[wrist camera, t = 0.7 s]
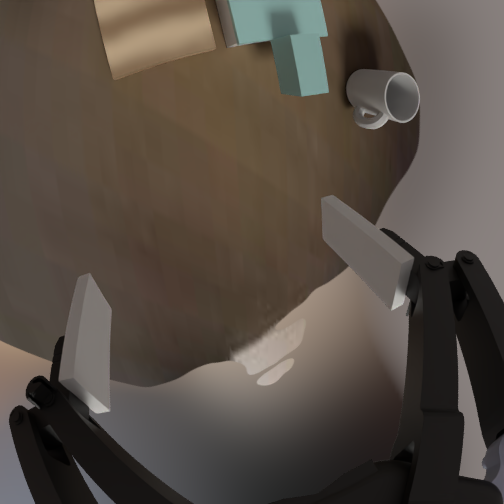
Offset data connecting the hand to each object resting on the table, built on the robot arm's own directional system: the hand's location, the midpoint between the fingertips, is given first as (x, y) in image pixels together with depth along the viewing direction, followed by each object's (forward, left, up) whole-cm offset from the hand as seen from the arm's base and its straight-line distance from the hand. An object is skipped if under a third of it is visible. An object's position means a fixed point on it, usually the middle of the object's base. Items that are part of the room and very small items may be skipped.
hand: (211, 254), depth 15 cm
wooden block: (-19, +2, -25) cm, 31 cm away
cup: (-2, +29, -25) cm, 38 cm away
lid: (-15, +15, -20) cm, 29 cm away
